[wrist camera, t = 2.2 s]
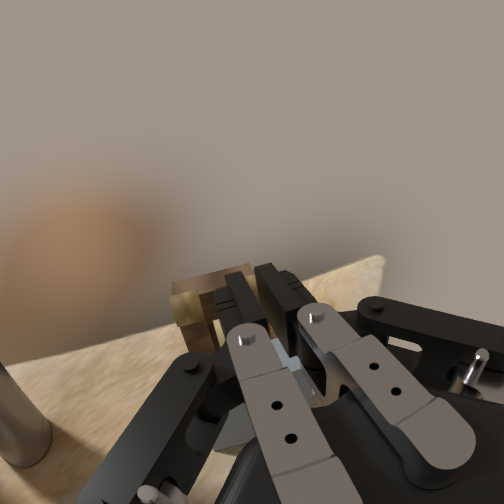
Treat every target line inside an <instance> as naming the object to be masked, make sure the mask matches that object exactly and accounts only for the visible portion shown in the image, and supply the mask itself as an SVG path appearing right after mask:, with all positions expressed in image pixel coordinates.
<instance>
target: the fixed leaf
mask: <svg viewBox="0 0 504 504" xmlns="http://www.w3.org/2000/svg"><path fill="white" fill-rule="evenodd" d="M240 270H241V271H242V273H243V275H244V277H245V279H246V280H247V282H248V284H249V286H250V288H251V289H252V291H253V293H254V295H255V297H256V299H257V300H258V302H259V298H258V292H257V285H256V279H255V273H254V271H253V269H252V268H251V266H250V265H249V263H247V264H244V265H240V266H236V267H232V268H228V269H224V270H220V271H217V272H213V273H209V274H205V275H201V276H197V277H193V278H190V279H186V280H181V281H177V282H173V283H172V293H173V296H170V303H171V307H172V312H173V315H174V318H175V321H176V324H177V326H178V327H180V329H181V332H182V335H183V337H184V340H185V343H186V345H187V348H188V351H189V352H201V353H204V354H206V355H208V356H209V355H211V354H212V353H214V352H216V351H217V350H219V349H220V348H221V347H220V344H219V341H218V337H217V334H216V330H215V327H214V323H213V320H217V319H219V318H218V314H217V310H216V306H215V302H214V298H213V295H214V293H215V290H216V289H217V288H221V287H225V286H226V282H225V276H224V275H225V274H229V273H233V272H237V271H240ZM259 304H260V302H259ZM260 306H261V305H260ZM267 321H268V319H267ZM268 328H269V335H270V339H271V334H270V326H269V321H268Z"/></svg>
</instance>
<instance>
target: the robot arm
mask: <svg viewBox="0 0 504 504" xmlns="http://www.w3.org/2000/svg"><path fill="white" fill-rule="evenodd" d="M254 271H255V272H254V273H255V279H256V285H257V292H258V298H259V302H260V304H259V302H258V300H257V299H256V297H255V295H254V293H253V291H252V289H251V288H250V286H249V284H248V282H247V280H246V279H245V277H244V275H243V273H242V271H241V270H240V271H237V272H233V273H229V274H225V275H224V276H225V282H226V286H225V287H221V288H217V289H216V290H215V293H214V295H213V298H214V302H215V306H216V310H217V314H218V318H219V321H220V325H221V328H222V331H223V334H224V337H225V342H224V344H223V345H222V347H221V348H220V349H219V350H217V351H216V352H214V353H212V354H211V355H209V356H208V355H206V354H204V353H201V352H189V353H185V354H183V355H181V356H179V357H178V358H176V359H175V360H174V361H173V363H172V364H171V365H170V367H169V368H168V370H167V371H166V372H165V374H164V375H163V377H162V378H161V380H160V381H159V382H158V384H157V385H156V387H155V388H154V389H153V391H152V392H151V394H150V395H149V396H148V398H147V399H146V401H145V402H144V403H143V405H142V406H141V408H140V409H139V411H138V412H137V413H136V415H135V416H134V418H133V419H132V420H131V422H130V423H129V425H128V426H127V427H126V429H125V430H124V432H123V433H122V434H121V436H120V437H119V439H118V440H117V442H116V443H115V444H114V446H113V447H112V449H111V450H110V451H109V453H108V454H107V456H106V457H105V458H104V460H103V461H102V463H101V464H100V465H99V467H98V468H97V470H96V471H95V473H94V474H93V475H92V477H91V478H90V480H89V481H88V482H87V484H86V485H85V487H84V488H83V489H82V491H81V492H80V494H79V495H78V497H77V499H76V504H194V503H193V502H192V500H191V499H190V498H188V497H187V495H188V494H189V492H190V490H191V488H192V486H193V484H194V483H195V481H196V479H197V477H198V475H199V473H200V471H201V469H202V467H203V465H204V464H205V462H206V460H207V458H208V456H209V454H210V452H211V450H212V448H213V446H214V444H215V442H216V440H217V438H218V436H219V434H220V432H221V430H222V428H223V426H224V424H225V422H226V420H227V418H228V415H229V411H231V410H232V409H234V408H235V407H237V406H239V405H240V404H242V403H244V404H245V407H246V410H247V413H248V416H249V419H250V422H251V425H252V428H253V432H254V435H255V437H254V438H252V439H251V440H250V441H249V442H248V443H247V444H246V445H245V446H244V448H243V449H242V450H241V452H240V453H239V455H238V456H237V458H236V460H235V462H234V464H233V466H232V469H231V471H230V473H229V475H228V477H227V479H226V481H225V483H224V485H223V487H222V489H221V491H220V493H219V495H218V497H217V499H216V501H215V503H214V504H504V327H502V326H498V325H494V324H489V323H485V322H481V321H477V320H473V319H469V318H464V317H460V316H456V315H452V314H448V313H444V312H440V311H435V310H431V309H427V308H423V307H419V306H415V305H411V304H407V303H403V302H399V301H395V300H391V299H387V298H383V297H378V296H372V297H367V298H364V299H362V300H361V301H360V302H359V303H358V306H357V310H354V311H345V312H337V311H336V310H335V309H334V308H333V307H331V306H330V305H328V304H325V303H318V302H317V301H316V299H315V298H314V297H313V296H312V295H311V293H310V292H309V291H308V290H307V289H306V288H305V287H304V285H303V284H302V283H301V282H300V281H299V279H298V278H297V277H296V276H295V275H294V274H292V273H290V272H288V271H286V270H284V271H280V272H278V271H277V270H276V268H275V267H274V266H273V265H272V263H267V264H264V265H259V266H256V267H254ZM260 305H261V306H260ZM267 319H268V321H269V323H270V324H271V326H272V328H273V330H274V332H275V333H276V335H277V337H278V339H279V341H280V342H281V344H282V346H283V348H284V350H285V351H286V353H287V355H288V357H289V358H292V357H295V356H298V358H299V359H300V369H301V371H302V373H303V374H304V376H305V378H306V379H307V381H308V382H309V384H310V386H311V387H312V389H313V390H314V392H315V393H316V395H317V397H318V398H319V400H320V401H321V403H322V405H323V407H318V408H312V409H310V408H309V406H308V404H307V402H306V400H305V398H304V396H303V394H302V392H301V390H300V388H299V386H298V384H297V382H296V380H295V378H294V376H293V374H292V372H291V370H290V369H289V368H288V367H284V366H283V364H282V362H281V360H280V358H279V356H278V354H277V352H276V350H275V348H274V346H273V344H272V341H271V339H270V335H269V328H268V321H267ZM389 336H391V337H395V338H398V339H402V340H405V341H409V342H413V343H416V344H418V345H420V347H421V348H422V351H420V352H416V351H412V350H408V349H405V348H401V347H398V346H394V345H391V344H388V340H389ZM51 435H52V432H51V426H50V424H49V422H48V420H47V419H46V418H45V417H44V415H43V414H42V413H41V412H40V411H39V410H38V409H37V408H36V406H35V405H34V404H33V403H32V402H31V401H30V399H29V398H28V397H27V396H26V394H25V393H24V392H23V391H22V390H21V388H20V387H19V386H18V385H17V383H16V382H15V381H14V379H13V378H12V377H11V375H10V374H9V373H8V371H7V370H6V369H5V367H4V366H3V365H2V363H1V362H0V456H3V457H4V458H5V459H6V460H7V461H9V462H10V463H11V464H13V465H14V466H17V467H29V466H31V465H34V464H35V463H37V462H38V461H39V460H40V459H41V458H42V457H43V456H44V455H45V453H46V452H47V450H48V448H49V445H50V442H51Z"/></svg>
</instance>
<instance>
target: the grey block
mask: <svg viewBox="0 0 504 504" xmlns="http://www.w3.org/2000/svg"><path fill="white" fill-rule="evenodd" d="M213 323H214V327H215V330H216V334H217V337H218V341H219V344H220V347H222V345H223V344H224V342H225V337H224V334H223V331H222V328H221V325H220V321H219V319H217V320H213ZM271 341H272V344H273V346H274V348H275V350H276V352H277V354H278V356H279V358H280V360H281V362H282V364H283V366H284V367H288V368H289V369H290V370H291V372H292V374H293V376H294V378H295V380H296V382H297V384H298V386H299V388H300V390H301V392H302V394H303V396H304V398H305V400H306V402H307V404H308V406H309V408H310V409H312V387H311V386H310V384H309V382H308V381H307V379H306V378H305V376H304V374H303V373H302V371H301V369H300V359H299V358H298V356H295V357H292V358H289V357H288V355H287V353H286V351H285V350H284V348H283V346H282V344H281V342H280V341H279V339H278V338H275V339H272V340H271ZM254 437H255V435H254V432H253V428H252V425H251V422H250V419H249V416H248V413H247V410H246V407H245V404H244V403H242V404H240V405H239V406H237V407H235V408H234V409H232V410H231V411H229V415H228V418H227V420H226V422H225V424H224V426H223V428H222V430H221V432H220V434H219V436H218V438H217V440H216V442H215V444H214V446H213V450H214V451H218V450H223V449H227V448H231V447H234V446H238V445H242V444H245V443H248V442H249V441H250V440H251V439H252V438H254Z"/></svg>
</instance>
